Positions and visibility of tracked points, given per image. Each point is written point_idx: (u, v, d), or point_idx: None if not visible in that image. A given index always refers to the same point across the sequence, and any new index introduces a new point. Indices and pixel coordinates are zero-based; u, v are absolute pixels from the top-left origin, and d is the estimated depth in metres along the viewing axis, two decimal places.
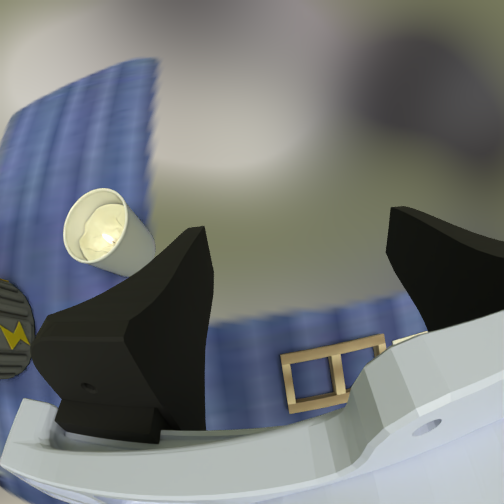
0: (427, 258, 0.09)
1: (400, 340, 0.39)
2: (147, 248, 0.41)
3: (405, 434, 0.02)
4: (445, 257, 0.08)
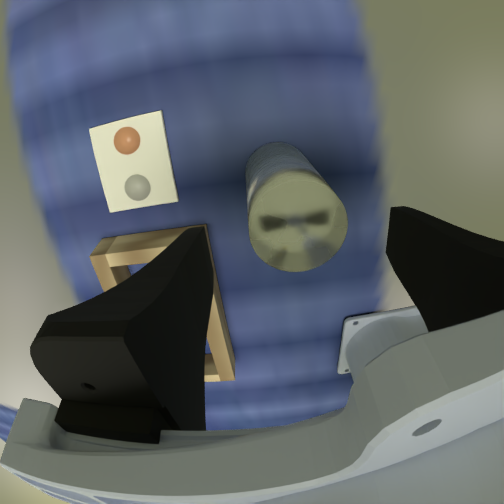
0: (427, 258, 0.09)
1: (108, 195, 0.19)
2: None
3: (405, 434, 0.02)
4: (445, 257, 0.08)
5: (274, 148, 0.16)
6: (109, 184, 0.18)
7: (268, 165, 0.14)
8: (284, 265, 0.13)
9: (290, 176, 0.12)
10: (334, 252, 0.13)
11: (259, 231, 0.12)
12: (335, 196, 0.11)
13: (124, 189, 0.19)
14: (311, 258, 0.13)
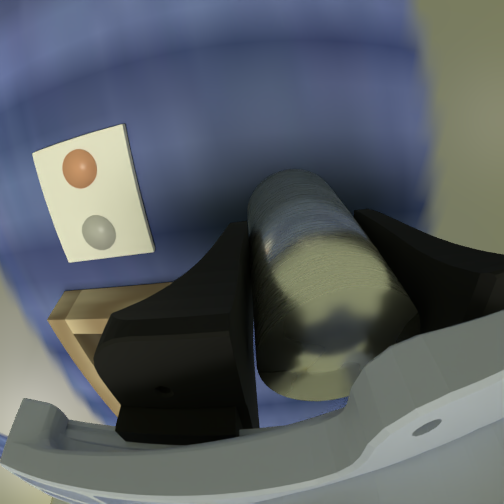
0: None
1: (63, 241, 0.13)
2: None
3: (405, 434, 0.02)
4: (402, 264, 0.08)
5: (292, 183, 0.11)
6: (63, 228, 0.13)
7: (286, 222, 0.09)
8: (311, 396, 0.07)
9: (334, 265, 0.06)
10: None
11: (274, 362, 0.07)
12: (410, 305, 0.06)
13: (82, 234, 0.13)
14: None
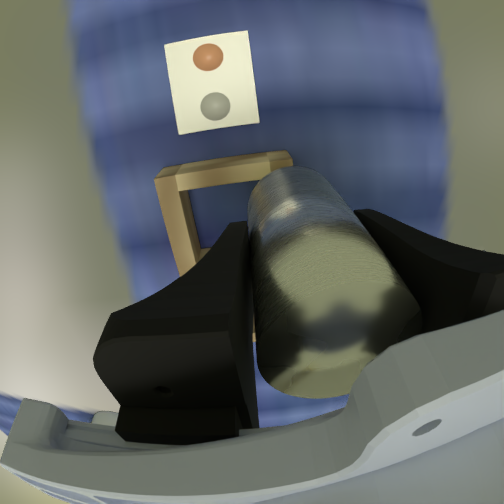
0: None
1: (179, 115, 0.17)
2: None
3: (405, 434, 0.02)
4: (402, 264, 0.08)
5: (294, 179, 0.11)
6: (181, 103, 0.17)
7: (289, 217, 0.09)
8: (310, 393, 0.07)
9: (338, 260, 0.06)
10: None
11: (274, 357, 0.07)
12: (413, 301, 0.06)
13: (200, 107, 0.17)
14: (353, 382, 0.07)
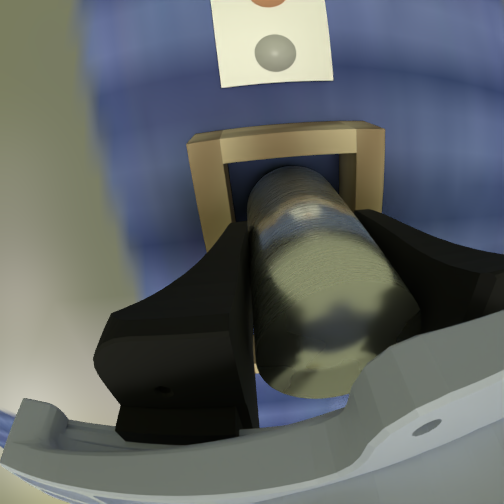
0: None
1: (223, 61, 0.11)
2: None
3: (405, 434, 0.02)
4: (402, 264, 0.08)
5: (294, 179, 0.11)
6: (228, 45, 0.11)
7: (288, 216, 0.09)
8: (309, 393, 0.07)
9: (337, 259, 0.06)
10: None
11: (273, 357, 0.06)
12: (413, 301, 0.06)
13: (254, 52, 0.11)
14: (352, 383, 0.07)
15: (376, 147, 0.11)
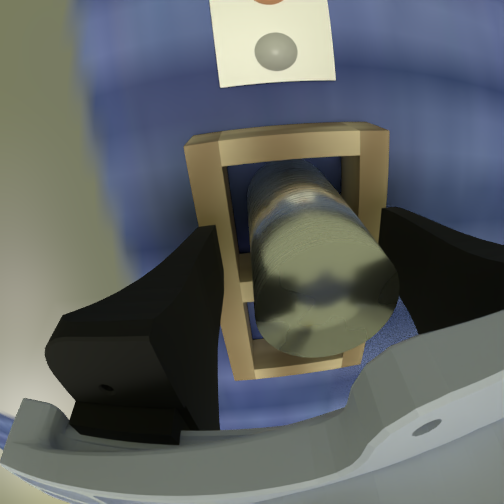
0: (417, 260, 0.09)
1: (222, 60, 0.11)
2: None
3: (405, 434, 0.02)
4: (434, 259, 0.08)
5: (289, 168, 0.12)
6: (226, 43, 0.11)
7: (283, 197, 0.10)
8: (302, 351, 0.09)
9: (323, 226, 0.07)
10: (373, 333, 0.08)
11: (270, 312, 0.08)
12: (389, 263, 0.07)
13: (254, 51, 0.11)
14: (341, 342, 0.09)
15: (380, 149, 0.11)
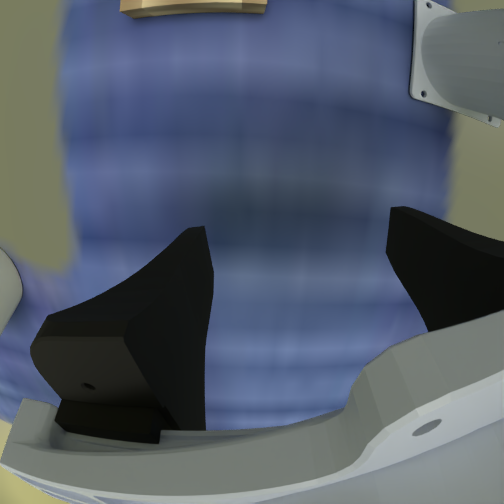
0: (427, 258, 0.09)
1: None
2: None
3: (405, 434, 0.02)
4: (445, 257, 0.08)
5: None
6: None
7: None
8: None
9: None
10: None
11: None
12: None
13: None
14: None
15: None
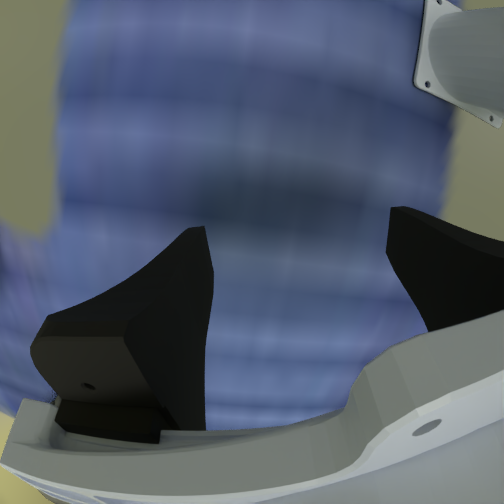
0: (427, 258, 0.09)
1: None
2: None
3: (405, 434, 0.02)
4: (445, 257, 0.08)
5: None
6: None
7: None
8: None
9: None
10: None
11: None
12: None
13: None
14: None
15: None
